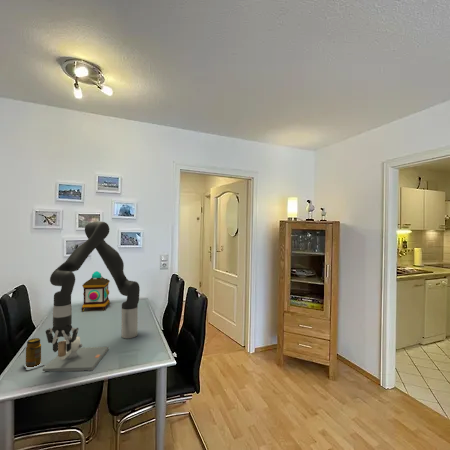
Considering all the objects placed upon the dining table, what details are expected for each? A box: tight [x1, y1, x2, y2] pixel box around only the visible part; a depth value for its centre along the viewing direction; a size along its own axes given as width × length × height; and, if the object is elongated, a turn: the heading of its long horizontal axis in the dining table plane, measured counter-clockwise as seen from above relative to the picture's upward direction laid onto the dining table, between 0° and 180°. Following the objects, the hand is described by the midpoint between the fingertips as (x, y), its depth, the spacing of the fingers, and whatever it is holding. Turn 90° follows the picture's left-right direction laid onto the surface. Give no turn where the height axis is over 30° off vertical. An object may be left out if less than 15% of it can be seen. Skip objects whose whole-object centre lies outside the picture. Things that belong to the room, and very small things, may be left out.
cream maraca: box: [57, 335, 83, 360], centre depth 135 cm, size 15×9×8 cm, turn 4°
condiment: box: [25, 337, 42, 367], centre depth 133 cm, size 7×8×12 cm
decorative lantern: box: [81, 271, 111, 312], centre depth 227 cm, size 20×20×30 cm
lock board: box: [42, 346, 109, 372], centre depth 139 cm, size 22×22×5 cm
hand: (62, 351), depth 129 cm, fingers open, 5 cm apart
